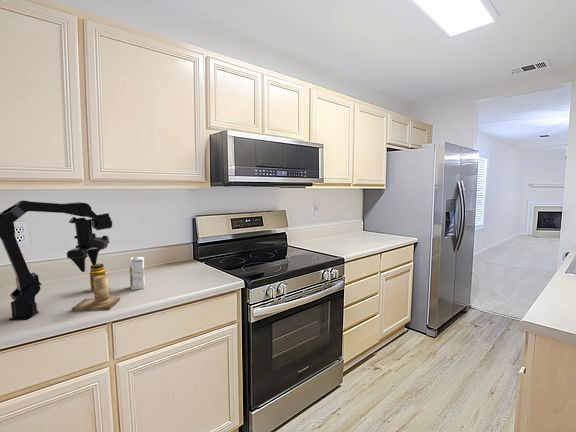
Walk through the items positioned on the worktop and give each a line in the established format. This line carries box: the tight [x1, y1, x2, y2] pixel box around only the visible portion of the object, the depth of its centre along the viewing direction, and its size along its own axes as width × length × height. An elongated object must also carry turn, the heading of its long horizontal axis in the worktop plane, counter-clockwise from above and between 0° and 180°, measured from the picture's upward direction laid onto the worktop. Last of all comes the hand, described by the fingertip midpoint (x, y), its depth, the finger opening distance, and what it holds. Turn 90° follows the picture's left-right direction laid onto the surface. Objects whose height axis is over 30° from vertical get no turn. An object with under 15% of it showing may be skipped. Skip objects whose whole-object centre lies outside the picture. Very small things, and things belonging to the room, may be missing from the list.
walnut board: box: [71, 297, 121, 312], centre depth 129 cm, size 14×10×1 cm
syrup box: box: [129, 256, 146, 291], centre depth 150 cm, size 6×6×14 cm
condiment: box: [85, 263, 110, 293], centre depth 148 cm, size 7×8×12 cm
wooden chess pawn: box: [93, 274, 111, 305], centre depth 128 cm, size 6×6×10 cm
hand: (89, 268), depth 134 cm, fingers open, 9 cm apart
